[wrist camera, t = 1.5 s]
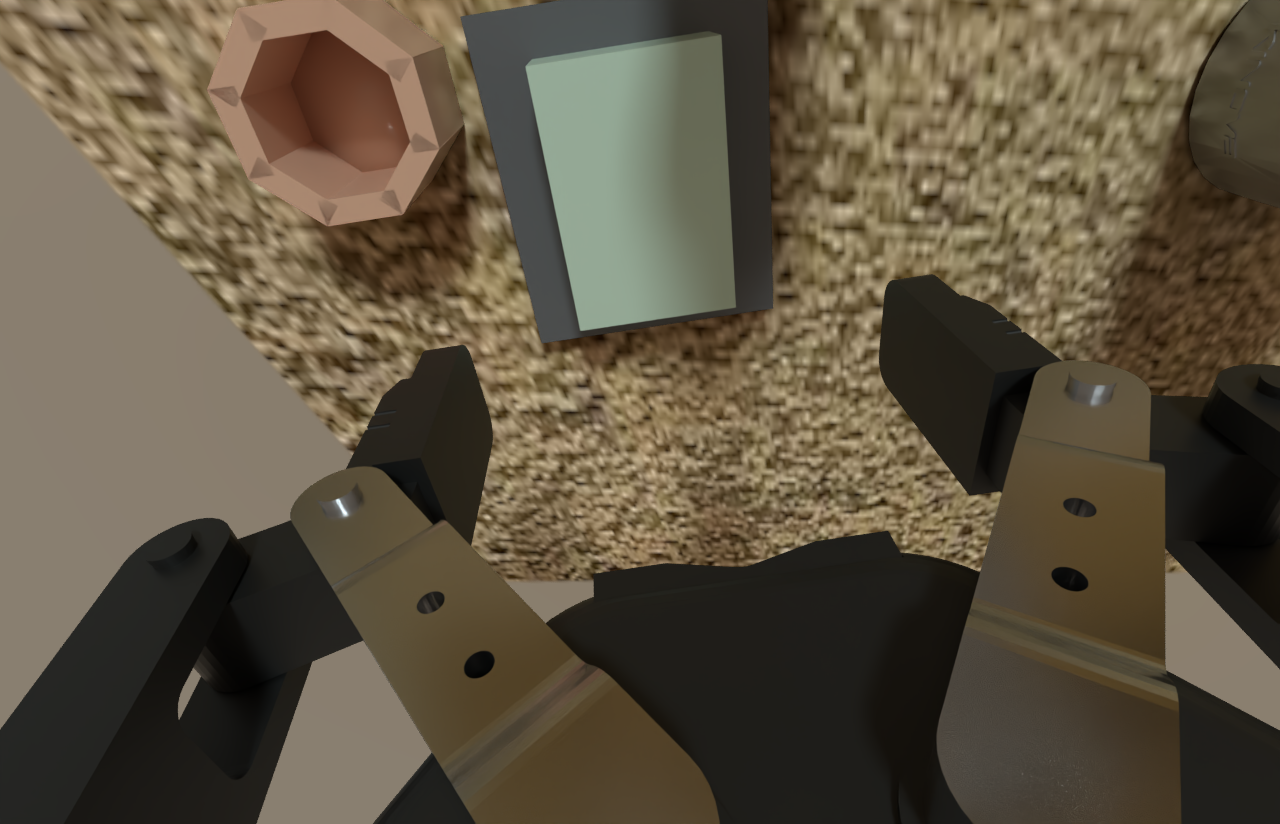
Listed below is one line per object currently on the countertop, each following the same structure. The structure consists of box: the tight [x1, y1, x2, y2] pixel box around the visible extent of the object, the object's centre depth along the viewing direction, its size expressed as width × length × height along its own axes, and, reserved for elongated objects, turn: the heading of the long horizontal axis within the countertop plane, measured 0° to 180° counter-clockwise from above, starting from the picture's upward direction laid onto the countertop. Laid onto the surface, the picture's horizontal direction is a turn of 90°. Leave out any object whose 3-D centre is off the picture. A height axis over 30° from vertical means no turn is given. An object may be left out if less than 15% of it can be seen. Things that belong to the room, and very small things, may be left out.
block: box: [525, 31, 736, 331], centre depth 23 cm, size 6×9×2 cm, turn 8°
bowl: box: [207, 0, 464, 226], centre depth 21 cm, size 6×6×4 cm
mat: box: [461, 0, 773, 343], centre depth 24 cm, size 10×12×1 cm
